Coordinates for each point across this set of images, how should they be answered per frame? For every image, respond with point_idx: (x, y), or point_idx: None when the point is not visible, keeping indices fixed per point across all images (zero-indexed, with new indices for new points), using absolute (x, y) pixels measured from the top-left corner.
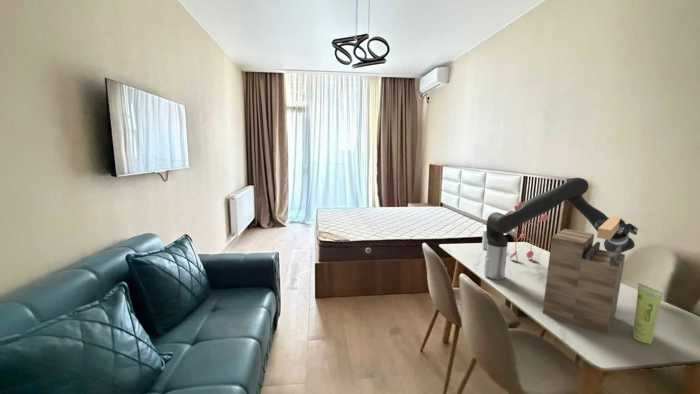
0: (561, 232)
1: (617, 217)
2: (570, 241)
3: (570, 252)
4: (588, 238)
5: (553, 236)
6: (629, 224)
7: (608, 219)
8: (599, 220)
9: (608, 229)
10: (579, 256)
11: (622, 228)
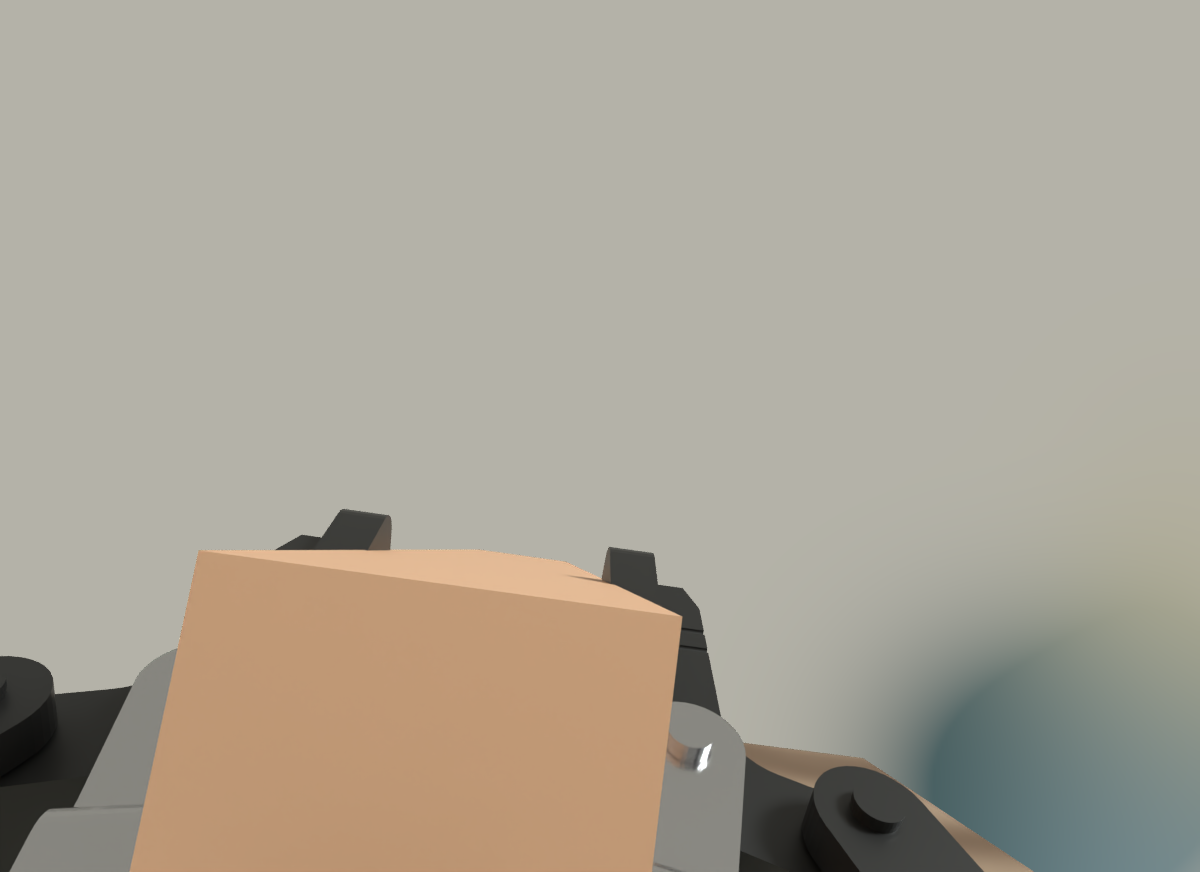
0: (987, 853)
1: (414, 573)
2: None
3: None
4: None
5: (873, 767)
6: (23, 686)
7: (586, 575)
8: (923, 842)
9: (497, 552)
10: None
11: None
